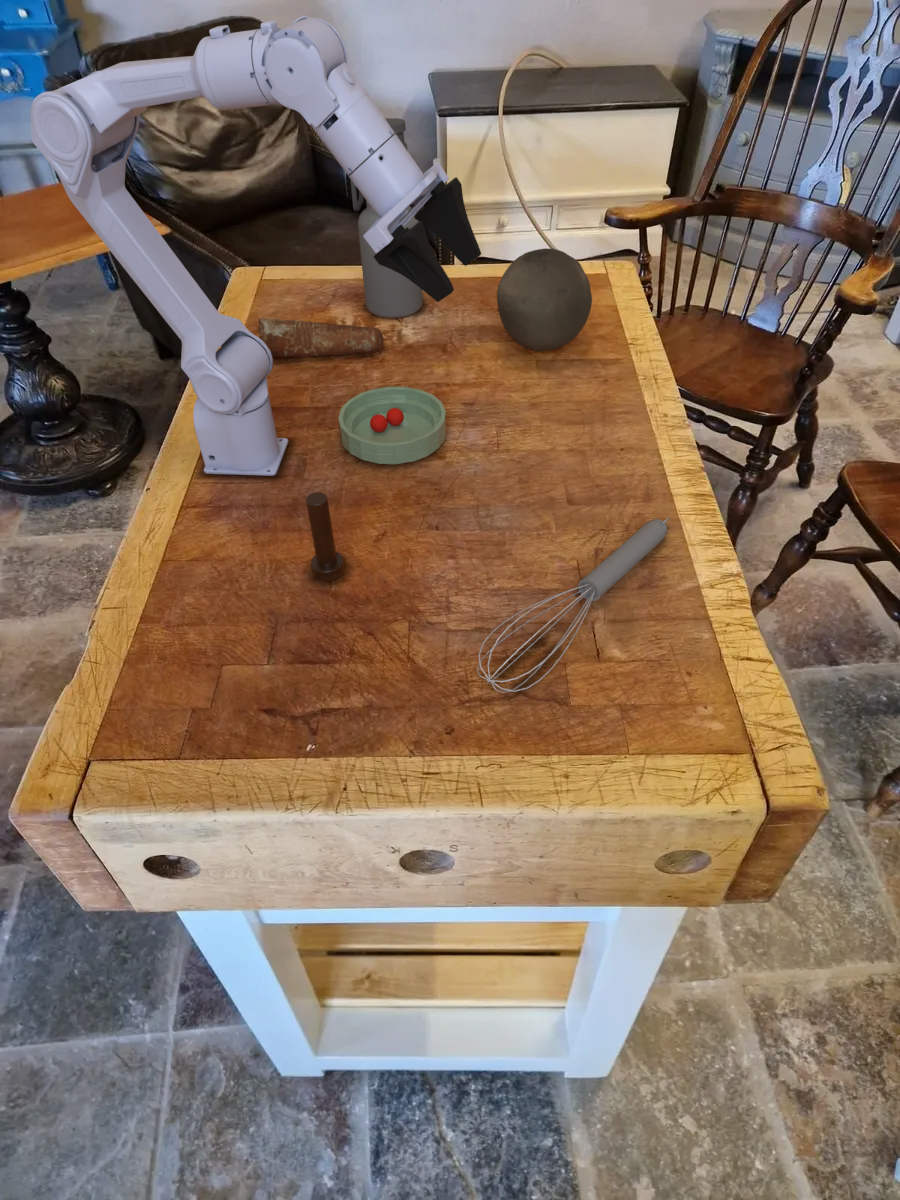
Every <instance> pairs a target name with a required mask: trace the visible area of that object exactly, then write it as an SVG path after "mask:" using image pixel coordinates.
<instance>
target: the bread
mask: <svg viewBox="0 0 900 1200" xmlns="http://www.w3.org/2000/svg"><path fill="white" fill-rule="evenodd" d="M257 330H258V333H259V338H260V339H261V340H262V341H263V342H264V343H265V344H266V345H267V347H268V348H269V350H270V352H271V355H272V358H302V357H307V358H308V357H322V356H323V357H324V356H343V355H344V356H345V355H354V354H367V353H368V354H369V353H376V352H379V351H380V350H382V349H383V347H384V344H385V343H384V335H383V333H382V331H381V330H380V329H379V328H377V327H372V326H358V325H351V324H339V323H327V322H319V321H316V322H315V321H307V320H306V321H305V320H304V321H303V320H295V319H279V318H258V328H257Z"/></svg>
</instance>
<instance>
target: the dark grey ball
mask: <svg viewBox="0 0 900 1200" xmlns="http://www.w3.org/2000/svg"><path fill="white" fill-rule="evenodd" d="M501 276H502V277H501V278H500V281H499V282H498V286H497V291H496V303H497V309H498V310H497V311H498V315H499V318H500V321H501V324H502V326H503V328H504V330H505V332H506V334H507V335H508V336H509V337H510V338H511V339H512V341H514V343H516V344H517V345H519V346H521V348H524V349H527V350H528V349H529V350H531V351H533V352H538V353H543V352H548V351H554V350H557V349H560V348H562V347H564V346H566V345H568V344H569V343H571V342H573V340H574V339H576V338H577V337H578V335H579V334H580V333H581V331H582V330H583V328H584V327H585V325H586V323H587V321H588V319H589V316H590V313H591V310H592V305H593V294H592V291H591V283H590V281H589V278H588V276H587V274H586V272H585V270H584V269H583V266H582V265H581V263H580V262H579V261H578V260H577V259H575V257H573V256H571V255H569V254H567V253H566V252H565V251H563V250H560V249H556V248H546V247H545V248H538V249H533V250H530V251H527V252H525V253H522V254H521V255H519V256H518V257H516V258H515V259H514V260H513V261H512V263H510V265H509V266H508V267H507V268H506V269H505V271H504V272H503V274H502V275H501Z"/></svg>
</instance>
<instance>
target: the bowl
mask: <svg viewBox="0 0 900 1200" xmlns="http://www.w3.org/2000/svg"><path fill="white" fill-rule="evenodd" d="M392 408H398V409H400V410H401V411H402V412H403V414H404V420H403V422H402V423H401V424H400V425H398V426H392V425H390V424H389V423H388V426H387V428H386V430H385V431H383V432H375V431H373V430H372V428H371V426H370V420H371V418H372V417H373V416H374V415H377V414H380V415H383V416H385V417H386V415H387V412H388V411H389V410H390V409H392ZM338 413H339V414H338V417H337V421H338V426H339V428H338V429H339V436H340V439H341V444H342V446H343V447H344V449H345V450H346V451H347V452H348V453H349V454H350V455H352V456H354V457H355V458H358V459H360V460H362V461H365V462H369V463H373V464H377V465H400V464H407V463H413V462H416V461H419V460H421V459H423V458H426V457H428V456H430V455H431V454H433V453H434V452H436V451H437V450H438V449H439V448H440V447H441V445H442V444H443V443H444V442H445V441H446V437H447V411H446V408H445V406H444V404H443V402H442V401H441V400H440V399H439V398H437V397H436V396H435V395H434V394H431V393H430V392H428V391H425V390H422V389H417V388H413V387H410V386H384V387H377V388H373V389H369V390H366V391H363V392H360V393H358V394H357V395H355V396H354V397H351V398H349V400H347V401H346V402H345V404H344V405H343V406H341V408H340V410H339V412H338Z"/></svg>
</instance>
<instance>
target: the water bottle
mask: <svg viewBox="0 0 900 1200" xmlns="http://www.w3.org/2000/svg"><path fill="white" fill-rule="evenodd" d="M384 118H385V117H384ZM385 119H386V121H387V122H388V124H389V125H390V127H391V128H392V129H393V131H394V132H395V133H394V134H393V135H392V136H391V137H393V136H394V135H395V134H396V135H397V137H398V138H399V140H400V141H401V142H402V144H403V145H404V147H405V148H406V150H407V151H408V144H407V143H406V141H405V133H404V132H406V128H407V127H406V120H405V119H403V118H398V117H396V118H395V117H391V118H390V117H389V118H387V117H386V118H385ZM391 137H390V138H391ZM390 138H389V139H390ZM389 139H388V140H389ZM388 140H387V141H388ZM387 141H386V142H387ZM357 169H358V168H356V169H355V170H357ZM355 170H354V171H355ZM354 171H353V172H354ZM353 172H352V173H353ZM350 189H351V199H352V200H351V201H352V208H353V211H354V212H360V210H361V208H362V205H363V203H364V200H365V202H366V208H365V209H363V210H362V211H361V212H360V214H359V216H358V220H357V227H358V228H357V229H358V238H359V240H358V241H359V249H360V258H361V261H360V262H361V271H362V272H361V273H362V281H363V282H362V283H363V291H364V302H365V306H366V308H367V310H368V311H369V312H370V313H371V314H372V315H374V316H377V317H380V318H385V319H398V318H399V319H400V318H406V317H409V316H411V315H413V314H415V313H417V312H419V310H420V309H421V308H422V306H423V303H424V293H423V292H424V291H423V290H422V289H421V288H420V287H418V286H417V285H416V284H414V283H413V282H412V281H410V280H409V279H408V278H406V277H404V276H403V275H401V274H399V273H397V272H396V271H394V270H392V269H389V268H387V267H384V266H382V265H379V264H378V262H377V261H376V260H375V258H374V255H375V254H376V253H375V251H374V250H373V249H372V248H371V246H370V245H369V244H368V242H367V241H366V240H365V238H364V237H363V235H364V234H365V233H366V232H367V231H368V230H369V229H370V227H371V226H372V225H373V224H374V222H375V221H376V220H377V219H378V218H379V216H378V215H377V214H376V212H375V211H374V210H373V208H372V207H371V206H370V204H369V203H368V202H367V200H366V199H365V197H364V196H363V195H362V193H361V192H360V191H359V190H358V193H357V187H356V186H355V184H354V183H353V182H352V180H351V179H350ZM357 195H358V196H357ZM412 208H413V207H412V206H411V205H409V206H408V207H407V208H406V209H407V210H408V212H409V211H410V210H411V209H412ZM417 213H418V212H416V214H417ZM416 214H415V215H416ZM415 215H414V216H415ZM404 216H405V215H404ZM404 216H403V217H404ZM414 216H413V217H412V218H411V219H410V220H409V221H408V222H407V223H406V224H405V225H404V228H405V229H406V228H407V227H408V228H409V229H411V228H412V227H413V226H414V225H416V224H417V223H418V222H419V221H418V220H416V219H415V217H414ZM403 217H402V218H401V219H400V220H399V221H401V220H402V219H403Z"/></svg>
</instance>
